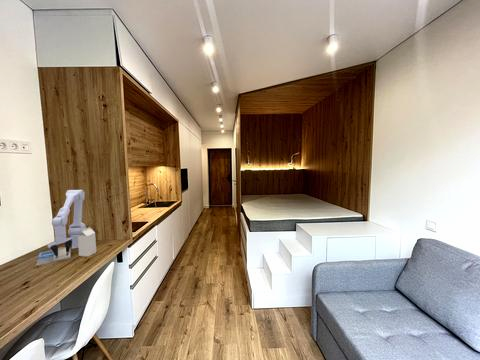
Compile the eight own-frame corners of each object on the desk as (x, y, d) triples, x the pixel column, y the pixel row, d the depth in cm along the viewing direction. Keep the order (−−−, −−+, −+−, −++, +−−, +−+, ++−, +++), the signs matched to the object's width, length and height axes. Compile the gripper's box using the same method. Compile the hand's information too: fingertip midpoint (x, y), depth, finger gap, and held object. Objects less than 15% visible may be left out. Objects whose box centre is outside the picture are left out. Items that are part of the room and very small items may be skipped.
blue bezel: (56, 250, 153) (56, 249, 153) (55, 255, 144) (55, 254, 144) (40, 254, 147) (40, 252, 147) (38, 259, 139) (38, 257, 139)
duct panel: (71, 248, 158) (70, 246, 158) (70, 258, 142) (70, 256, 141) (40, 254, 147) (39, 252, 147) (35, 266, 131) (35, 263, 131)
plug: (66, 254, 146) (65, 246, 146) (66, 257, 143) (65, 248, 142) (58, 256, 143) (57, 248, 143) (57, 259, 140) (57, 250, 139)
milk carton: (96, 252, 151) (94, 227, 149) (88, 257, 144) (86, 230, 142) (87, 252, 152) (85, 226, 150) (79, 256, 145) (77, 230, 143)
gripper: (68, 230, 150) (69, 248, 151) (43, 237, 136) (45, 257, 137) (75, 231, 147) (76, 250, 149) (50, 238, 134) (52, 259, 135)
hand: (62, 253), depth 143 cm, fingers closed on plug, 6 cm apart
